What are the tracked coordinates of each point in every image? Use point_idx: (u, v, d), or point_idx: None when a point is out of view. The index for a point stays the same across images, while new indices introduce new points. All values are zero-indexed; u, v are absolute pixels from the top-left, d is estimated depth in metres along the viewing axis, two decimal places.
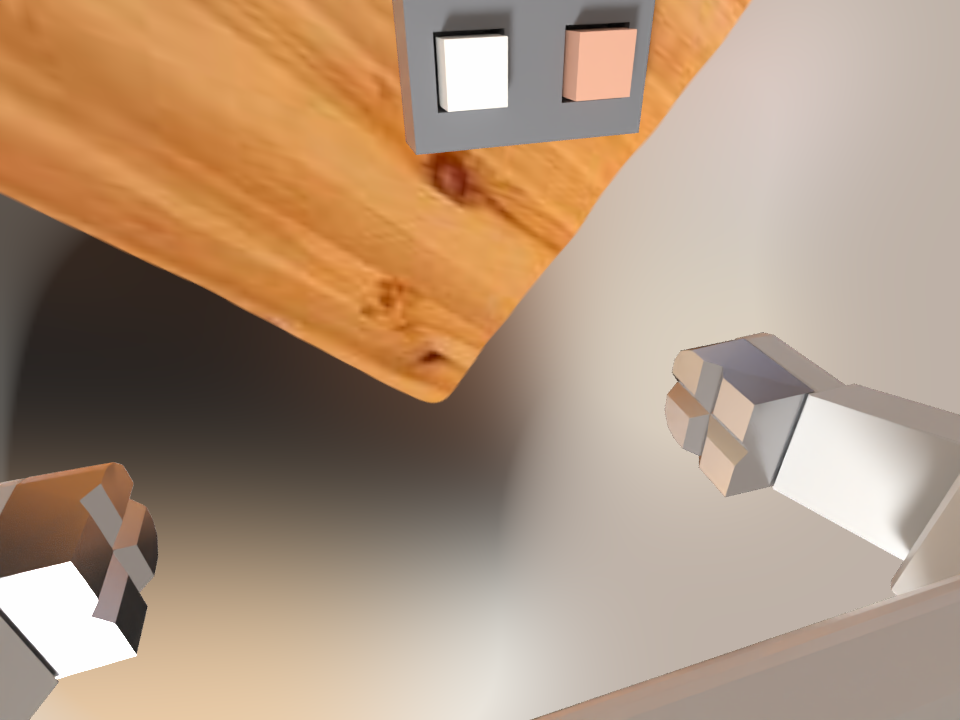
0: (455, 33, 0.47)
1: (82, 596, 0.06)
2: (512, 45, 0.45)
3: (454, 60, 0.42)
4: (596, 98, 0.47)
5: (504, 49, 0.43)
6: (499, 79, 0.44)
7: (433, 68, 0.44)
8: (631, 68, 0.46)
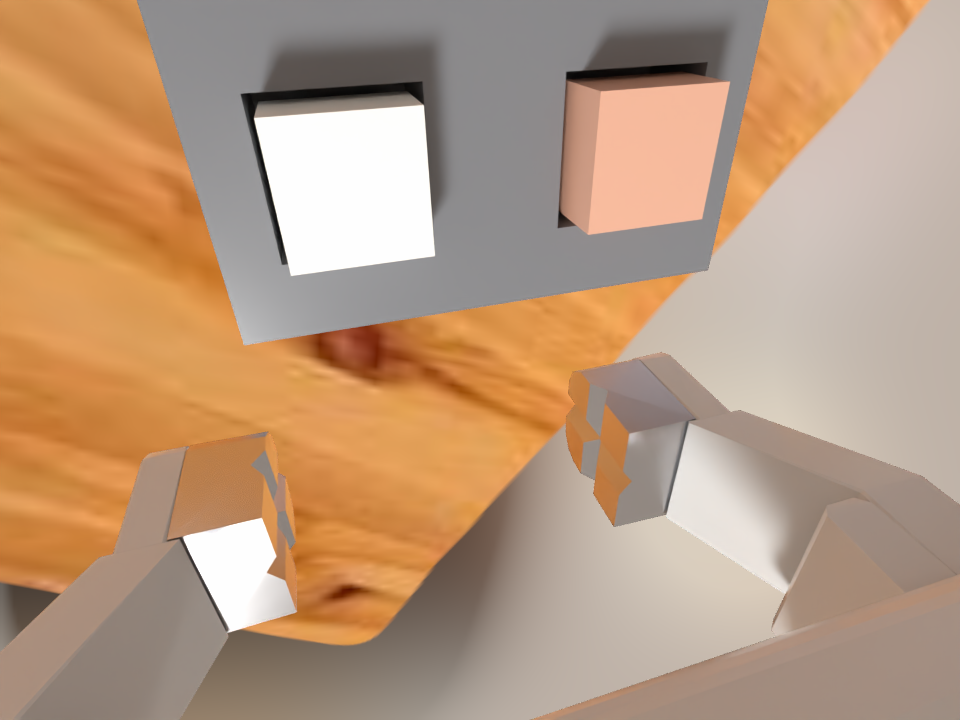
0: None
1: (264, 552, 0.06)
2: (445, 118, 0.19)
3: (290, 165, 0.17)
4: (632, 226, 0.22)
5: (417, 136, 0.18)
6: (410, 201, 0.19)
7: (255, 174, 0.19)
8: (710, 164, 0.21)
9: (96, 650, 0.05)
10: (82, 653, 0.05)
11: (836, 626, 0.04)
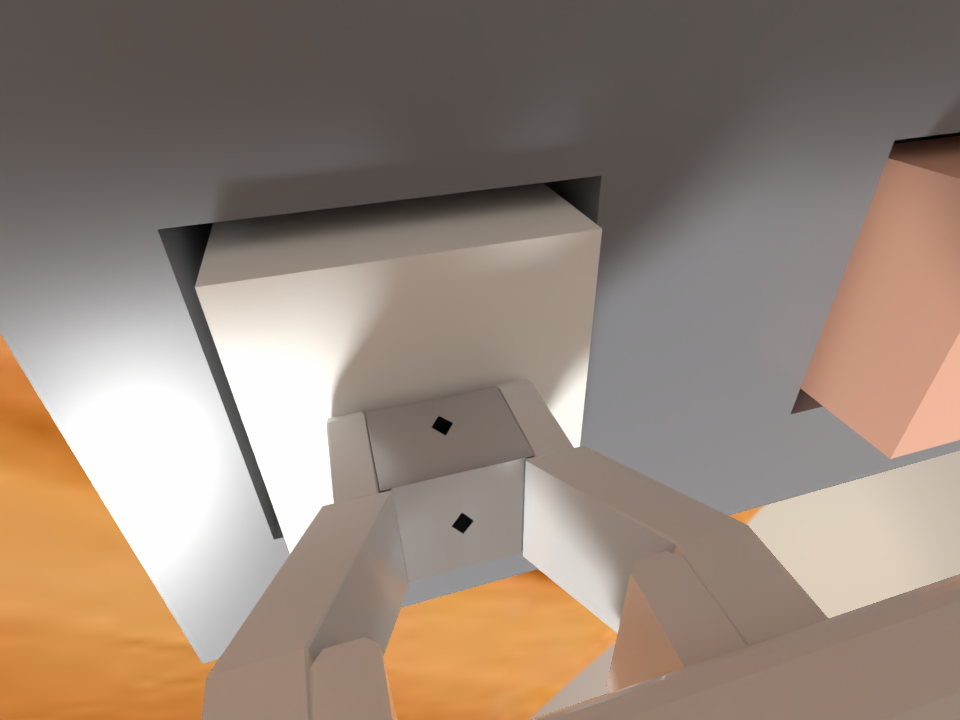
0: None
1: (455, 506, 0.07)
2: (634, 249, 0.09)
3: (289, 377, 0.07)
4: None
5: (578, 291, 0.08)
6: None
7: (209, 395, 0.08)
8: None
9: (350, 583, 0.05)
10: (345, 583, 0.05)
11: (836, 626, 0.04)
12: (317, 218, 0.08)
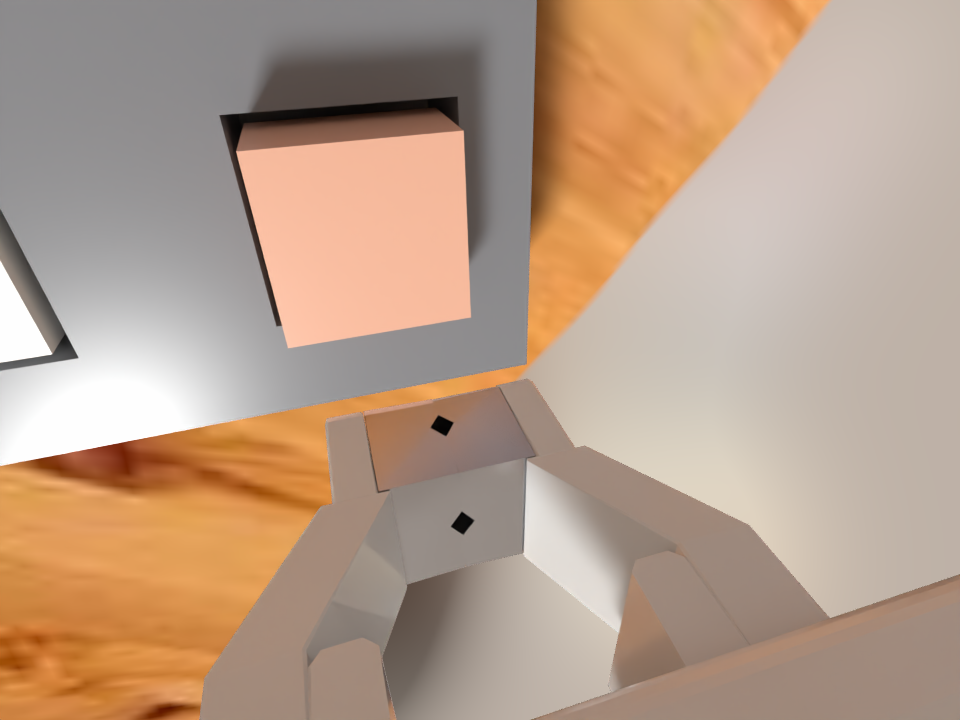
0: None
1: (453, 506, 0.07)
2: (26, 188, 0.13)
3: None
4: (360, 333, 0.15)
5: None
6: None
7: None
8: (463, 245, 0.14)
9: (348, 583, 0.05)
10: (344, 583, 0.05)
11: (836, 626, 0.04)
12: None
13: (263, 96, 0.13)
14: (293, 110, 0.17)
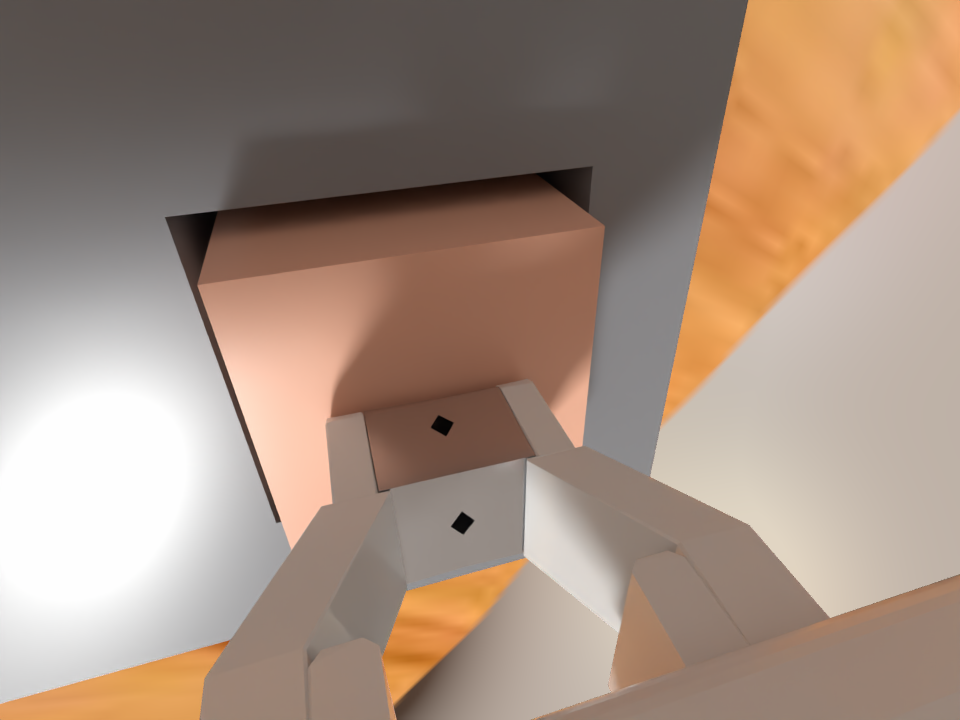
0: None
1: (453, 506, 0.07)
2: None
3: None
4: None
5: None
6: None
7: None
8: (580, 396, 0.09)
9: (348, 583, 0.05)
10: (342, 583, 0.05)
11: (835, 626, 0.04)
12: None
13: (248, 180, 0.07)
14: None
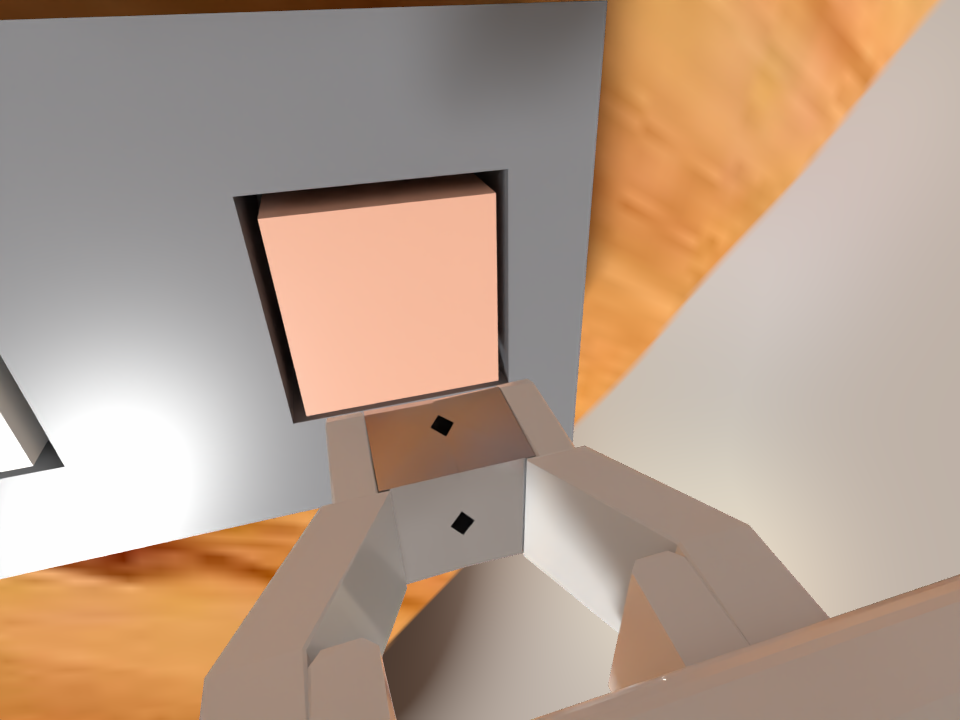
0: None
1: (454, 506, 0.07)
2: (4, 284, 0.11)
3: None
4: (382, 399, 0.14)
5: None
6: None
7: None
8: (492, 308, 0.14)
9: (348, 583, 0.05)
10: (342, 583, 0.05)
11: (836, 626, 0.04)
12: None
13: (284, 174, 0.11)
14: None
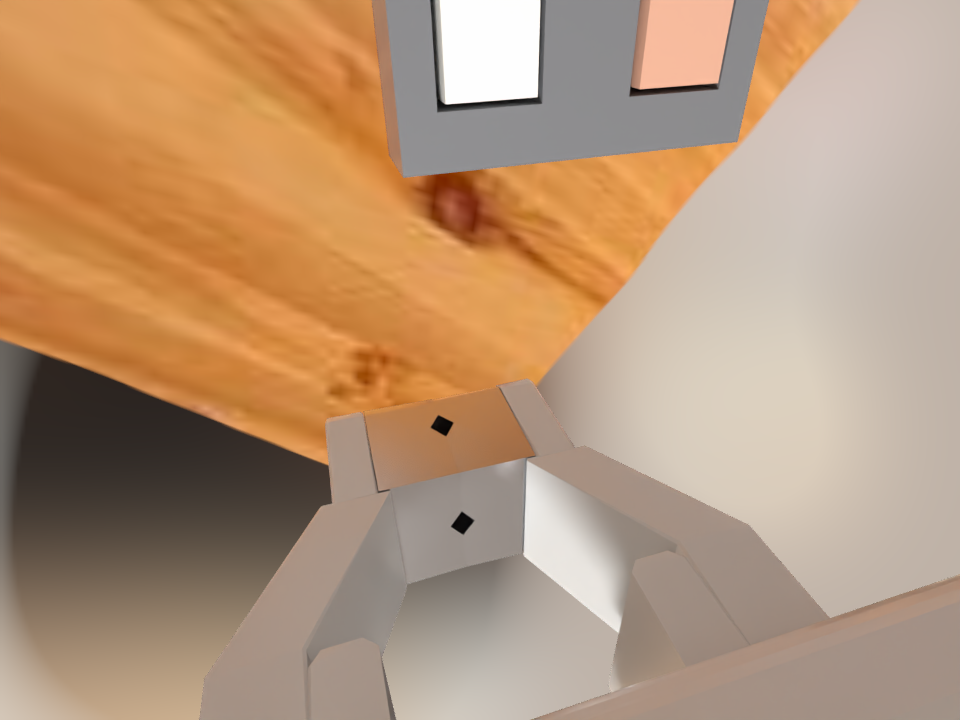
0: None
1: (454, 506, 0.07)
2: (559, 2, 0.28)
3: (455, 21, 0.26)
4: (670, 85, 0.31)
5: (535, 5, 0.27)
6: (526, 53, 0.28)
7: (430, 38, 0.27)
8: (724, 39, 0.31)
9: (348, 584, 0.05)
10: (342, 584, 0.05)
11: (836, 626, 0.04)
12: None
13: None
14: None
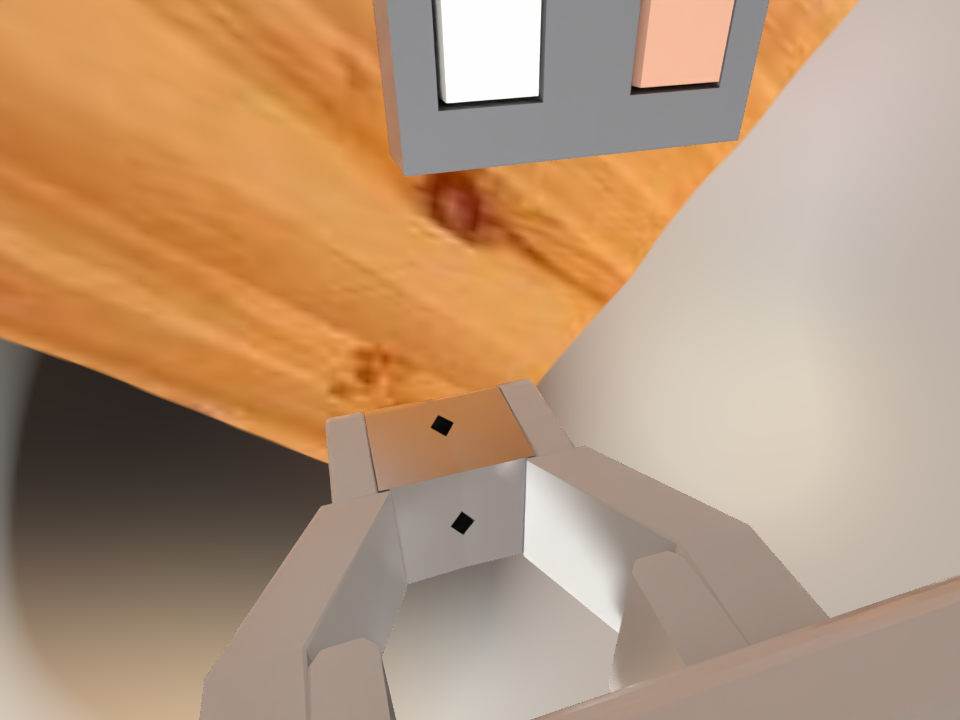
0: None
1: (453, 506, 0.07)
2: (560, 1, 0.28)
3: (456, 20, 0.26)
4: (671, 83, 0.31)
5: (536, 3, 0.27)
6: (527, 52, 0.28)
7: (431, 37, 0.27)
8: (725, 37, 0.31)
9: (348, 583, 0.05)
10: (342, 583, 0.05)
11: (836, 626, 0.04)
12: None
13: None
14: None
